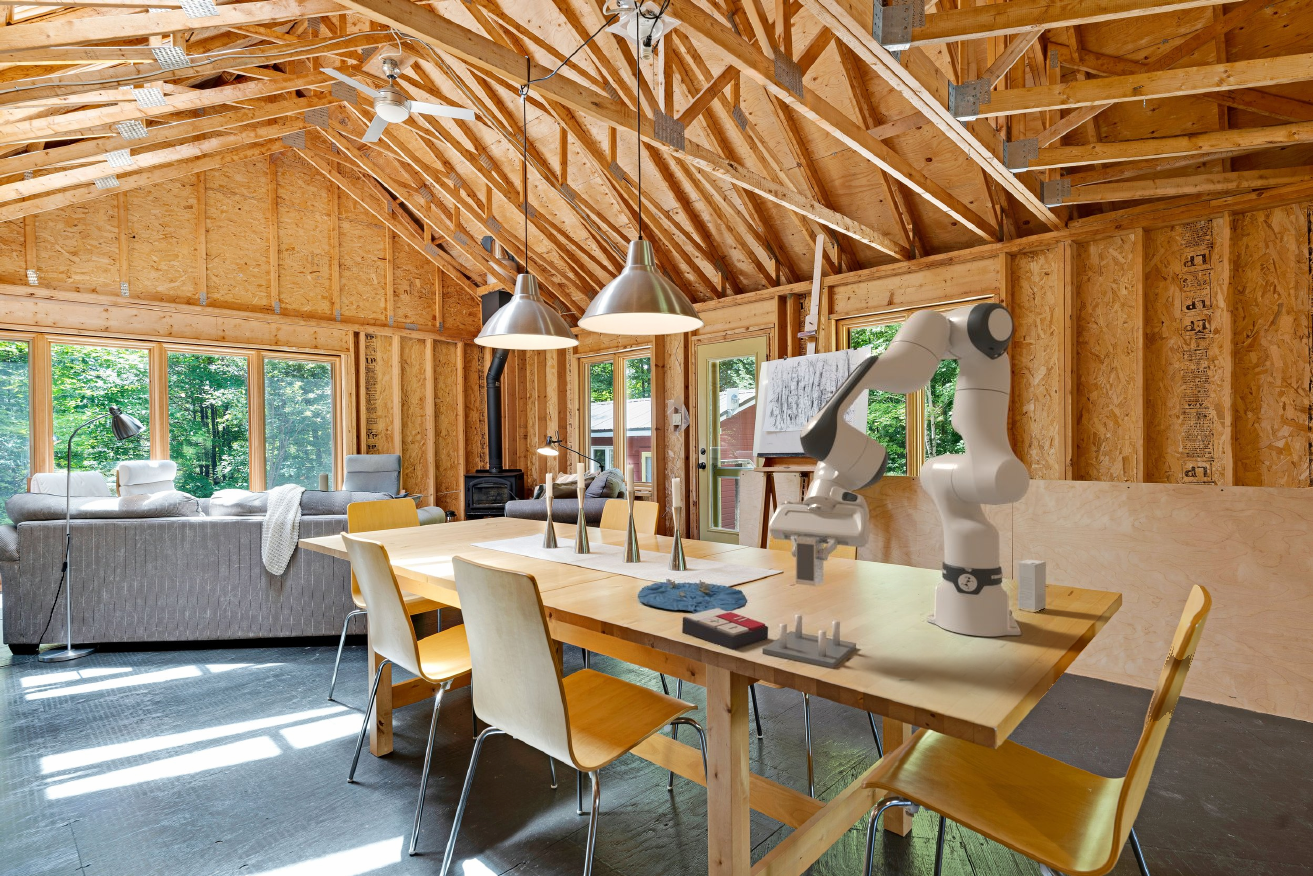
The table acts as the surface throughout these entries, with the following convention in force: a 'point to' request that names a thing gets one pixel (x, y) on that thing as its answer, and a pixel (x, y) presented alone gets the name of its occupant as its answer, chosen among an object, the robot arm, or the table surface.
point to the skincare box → (1032, 585)
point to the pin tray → (810, 646)
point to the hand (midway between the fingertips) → (808, 557)
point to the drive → (809, 560)
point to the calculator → (724, 628)
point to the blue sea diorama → (691, 596)
